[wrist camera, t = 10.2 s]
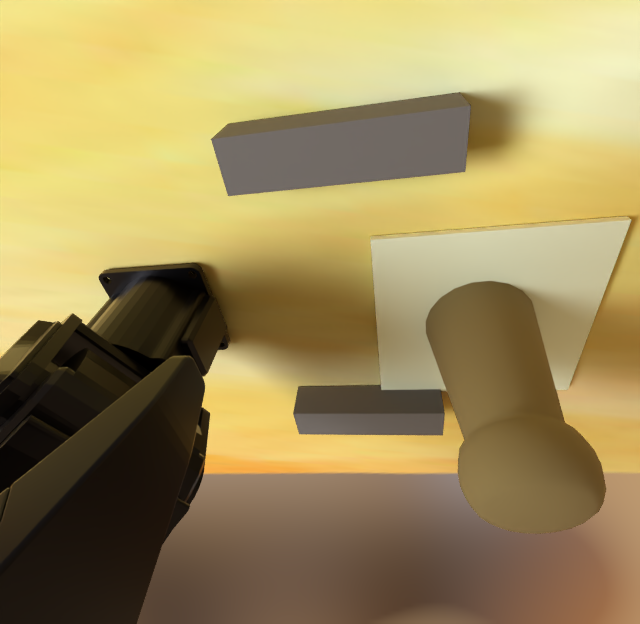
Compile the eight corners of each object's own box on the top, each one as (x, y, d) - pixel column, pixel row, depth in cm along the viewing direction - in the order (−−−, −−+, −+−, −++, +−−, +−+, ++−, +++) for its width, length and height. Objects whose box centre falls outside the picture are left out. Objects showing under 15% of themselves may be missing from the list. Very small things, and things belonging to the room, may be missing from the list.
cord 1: (303, 407, 30) (299, 434, 28) (298, 386, 29) (293, 413, 27) (438, 406, 29) (442, 435, 27) (439, 384, 27) (444, 413, 25)
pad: (381, 387, 28) (381, 391, 28) (370, 236, 20) (370, 240, 20) (565, 385, 26) (567, 389, 25) (627, 216, 18) (631, 219, 18)
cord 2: (242, 176, 19) (228, 196, 17) (228, 123, 18) (211, 139, 16) (455, 152, 17) (465, 171, 16) (459, 92, 16) (470, 105, 14)
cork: (415, 294, 22) (442, 484, 14) (533, 269, 20) (648, 469, 12) (434, 366, 25) (465, 554, 17) (536, 350, 24) (628, 550, 15)
